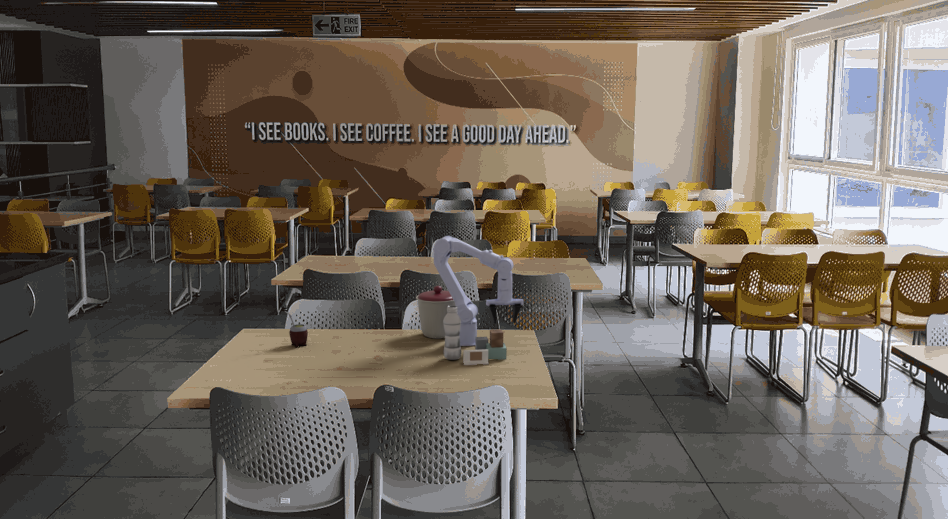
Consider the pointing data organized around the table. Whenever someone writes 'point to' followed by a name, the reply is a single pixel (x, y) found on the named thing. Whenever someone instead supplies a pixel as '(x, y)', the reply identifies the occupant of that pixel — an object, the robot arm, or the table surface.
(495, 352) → the base block
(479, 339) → the grey block
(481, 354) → the card
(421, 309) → the canister
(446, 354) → the plastic bottle
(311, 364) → the table surface
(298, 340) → the mate gourd
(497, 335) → the walnut block
